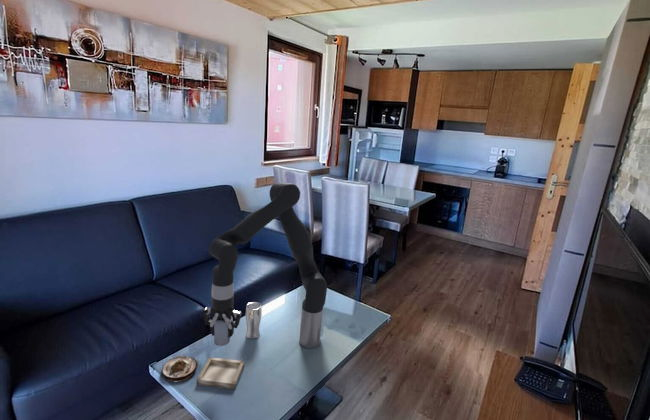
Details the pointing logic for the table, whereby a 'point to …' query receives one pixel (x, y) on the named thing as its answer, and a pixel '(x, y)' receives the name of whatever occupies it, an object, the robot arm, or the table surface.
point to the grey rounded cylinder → (221, 333)
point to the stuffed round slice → (179, 368)
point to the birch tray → (220, 373)
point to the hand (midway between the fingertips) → (222, 335)
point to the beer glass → (253, 319)
